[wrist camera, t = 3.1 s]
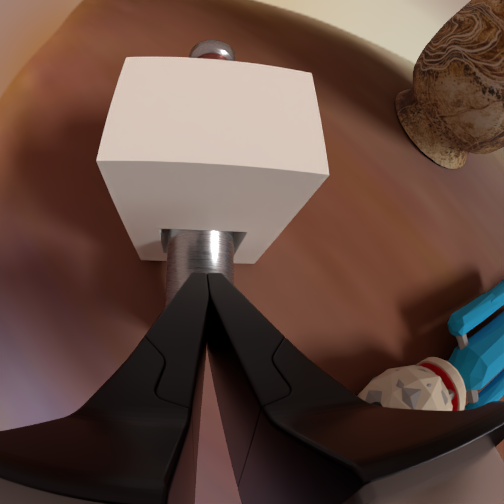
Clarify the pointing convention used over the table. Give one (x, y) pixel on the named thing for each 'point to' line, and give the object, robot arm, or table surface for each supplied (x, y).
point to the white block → (211, 150)
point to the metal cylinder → (200, 241)
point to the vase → (459, 87)
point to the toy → (451, 366)
